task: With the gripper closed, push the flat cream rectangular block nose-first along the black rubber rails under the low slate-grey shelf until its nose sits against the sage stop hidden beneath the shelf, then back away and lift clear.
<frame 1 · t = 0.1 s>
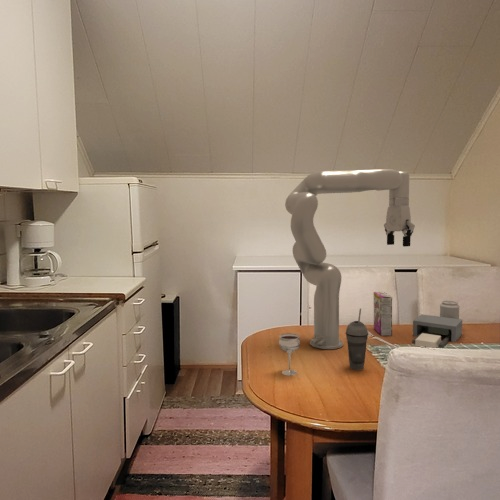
hand: (398, 245, 169), 37 cm above the table, tool pointing down, fingers open, 9 cm apart
cream rectangular block: (428, 345, 160), on the table
can: (449, 329, 180), on the table
fork: (381, 342, 165), on the table
candy bar box: (382, 332, 177), on the table
wineglass: (289, 373, 135), on the table
beverage cup: (356, 368, 138), on the table
low shelf: (437, 335, 171), on the table
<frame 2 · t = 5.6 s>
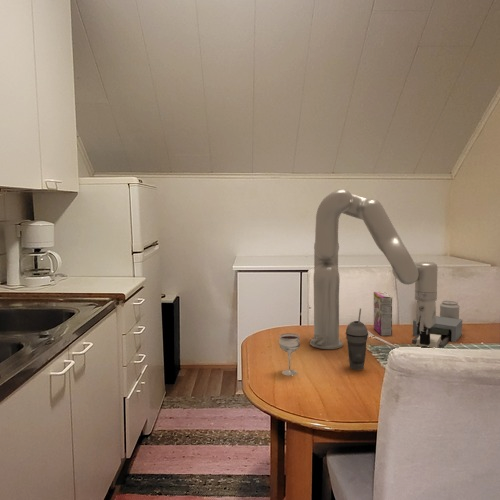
hand: (424, 343, 156), 2 cm above the table, tool pointing down, fingers closed
cream rectangular block: (429, 344, 161), on the table, touching gripper
everything else where it was.
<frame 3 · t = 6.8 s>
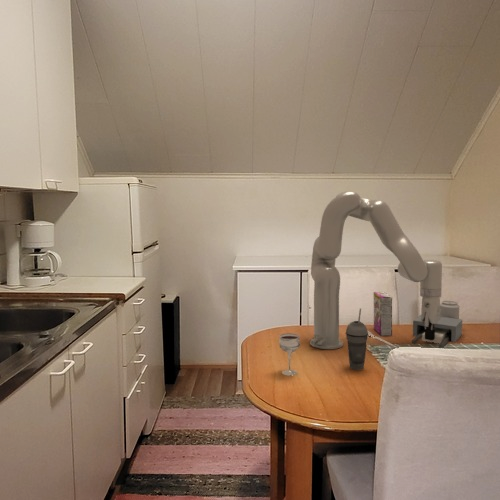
hand: (429, 339, 161), 2 cm above the table, tool pointing down, fingers closed
cream rectangular block: (434, 340, 167), on the table
everything else where it was.
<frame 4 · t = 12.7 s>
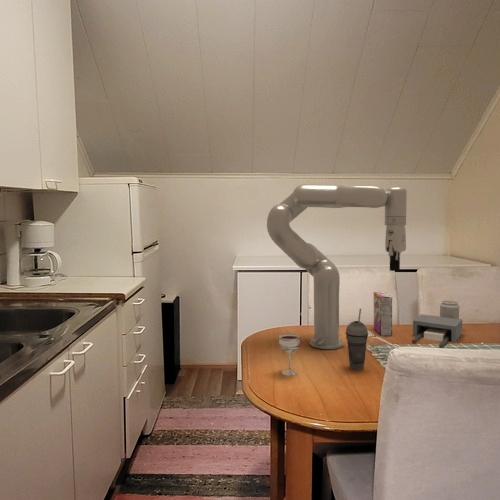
hand: (394, 270, 156), 29 cm above the table, tool pointing down, fingers closed
cream rectangular block: (436, 338, 169), on the table
everything else where it was.
at the end: cream rectangular block 0.8 cm from the target spot, on the table; cream rectangular block moved 11.0 cm from its start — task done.
